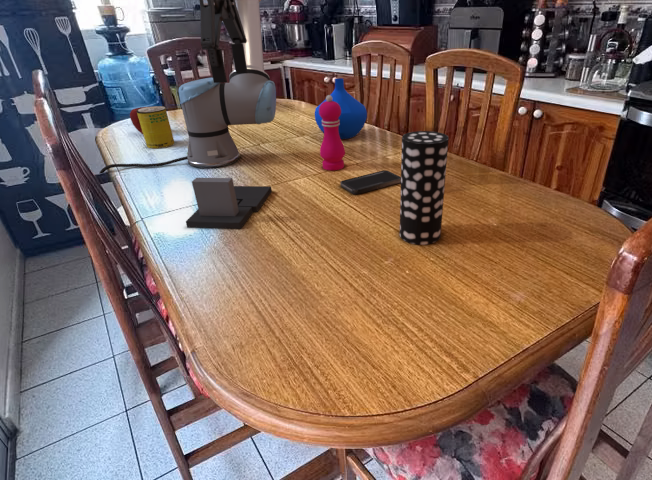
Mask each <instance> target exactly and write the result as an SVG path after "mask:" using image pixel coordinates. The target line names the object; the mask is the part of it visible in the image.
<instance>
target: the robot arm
mask: <svg viewBox="0 0 652 480" xmlns="http://www.w3.org/2000/svg"><path fill="white" fill-rule="evenodd" d="M261 1H262V0H199V7H200V9H199V11H200V46H201V49H202V50H204V51H205V50H206V51H207V55H208V59H209V64H210V70H211V74H212V77H206V78H201V79H196V80H191V81H188V82H185V83H183V84H181V85H180V86H179V87H178V95H179V96H178V97H179V104H180V106H181V111H182V115H183V119H184V124H185V128H186V132H187V136H188V143H187V144H188V145H187V153H186V154H187V155H186V156H182V157H178V158H175V159H174V158H173V159H170V160H168V161H163V162H156V163H113V164H108V165H106V166H104V167H103V168H101V170H100V171H99V173H98V174H100V175H101V174H104V173H105V172H106V171H107V170H110V169H113V168H135V167H136V168H155V167H162V166H167V165H171V164H175V163H178V162H182V161H187V162H188V163H187V164H188V165H189V166H191V167H193V168H199V169H213V168H214V169H215V168H220V167H225V166H229V165H231V164H234V163H237V161H239V160H240V158H241V157H240V151H239V149H238V147H237V145H236V142H235V141H234V139H233V137H232V136H231V133H230V130H229V126H241V125H242V126H243V125H261V124H269V123H272V122H273V121H274V119H275V117H276V111H277V88H276V84H275V82H274V81H273V80H271V78H270V75H269V74H268V73H267V72H266V71H265V64H264V51H263V38H262V23H261V11H260V2H261ZM222 23H223V25H224V28H225V29H226V32H227V33H228V36H229V38H230V40H231V42H232V43H230V46H231V54H232V59H233V71H231V72H230V74H229V76H228V77H227V74H226V67H225V63H224V56H223V50H222V49H221V48H220V40H221V31H222ZM227 78H229V79H227ZM228 81H229V82H228Z"/></svg>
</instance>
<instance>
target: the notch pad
mask: <svg viewBox="0 0 652 480" xmlns="http://www.w3.org/2000/svg"><path fill="white" fill-rule="evenodd" d="M234 189H235V194H236V200H240V204H239V205H238V207H252V212H253V213H258V212H259V210H260V209H261V208H262V206H264V203H265V202H266V201H267V199H268V198H269V196H270V195H271V194H272V192H273V191H272V190H273V189H272V186H270V185H269V186H267V185H266V186H265V185H263V186H260V185H250V186H249V185H234Z"/></svg>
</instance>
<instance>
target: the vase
mask: <svg viewBox="0 0 652 480" xmlns="http://www.w3.org/2000/svg"><path fill="white" fill-rule="evenodd" d="M344 83H345V82H344V78H342V77H339V78H338V77H337V78H334V89H333V91H332V92H331V93H330V95H331V96H332V98H333V99H332V101H334V102H336V103H338V104H339V106H340V108H341V115H340V116H339V118H338V119H339V120H340V121H339V123H340V125H339V126H338V131H339V136H340V139H341V140H348V139H352V138H355V137H356V136H357V135H359V134H360V132H361V131H362V130H363V128H364V127H365V124H366V121H367V118H368V117H367V116H368V111H367V109H366V106H365V105H364V104H363V103H361V102H360V101H359V100H358V99H356V98H355V97H354V96H353V95H351V94H350V93H349V92H348V91H347V90H346V89H345V84H344ZM326 101H327V100H326V98H325V99H324V100H323V101H322V102H321V103H320V104H319V105H317V107H315V110H314V121H315V122H316V123H315V124H317V127H318V129H319V130H320V131H321V132H322V133H323V134H324V127H323V126H322V120H323V119H322V117H321V116H320V114H319V107H320V105H321V104H322V103H323V102H326Z"/></svg>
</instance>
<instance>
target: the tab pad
mask: <svg viewBox="0 0 652 480" xmlns="http://www.w3.org/2000/svg"><path fill="white" fill-rule="evenodd" d="M191 184H192V189H193V193H194V197H195V201H196V206H197V210H196V211H195V212H193V214H191V215H190V216H189V218H187V219H186V220H185V223H186V227H187V228H189V229H190V228H191V229H192V228H195V229H197V228H198V229H232V230H235V229H237V230H240V229H241V230H242V228H243V226H244V225H245V224H246V222H247V221H248V220H249V218H250V217H251V216H252V214H253V213H254V212H252V207H238V205H239V204H240V200H236V194H235V189H234V186H235V185H234V180H233V177H195V178H194V179H193V180H191Z"/></svg>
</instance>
